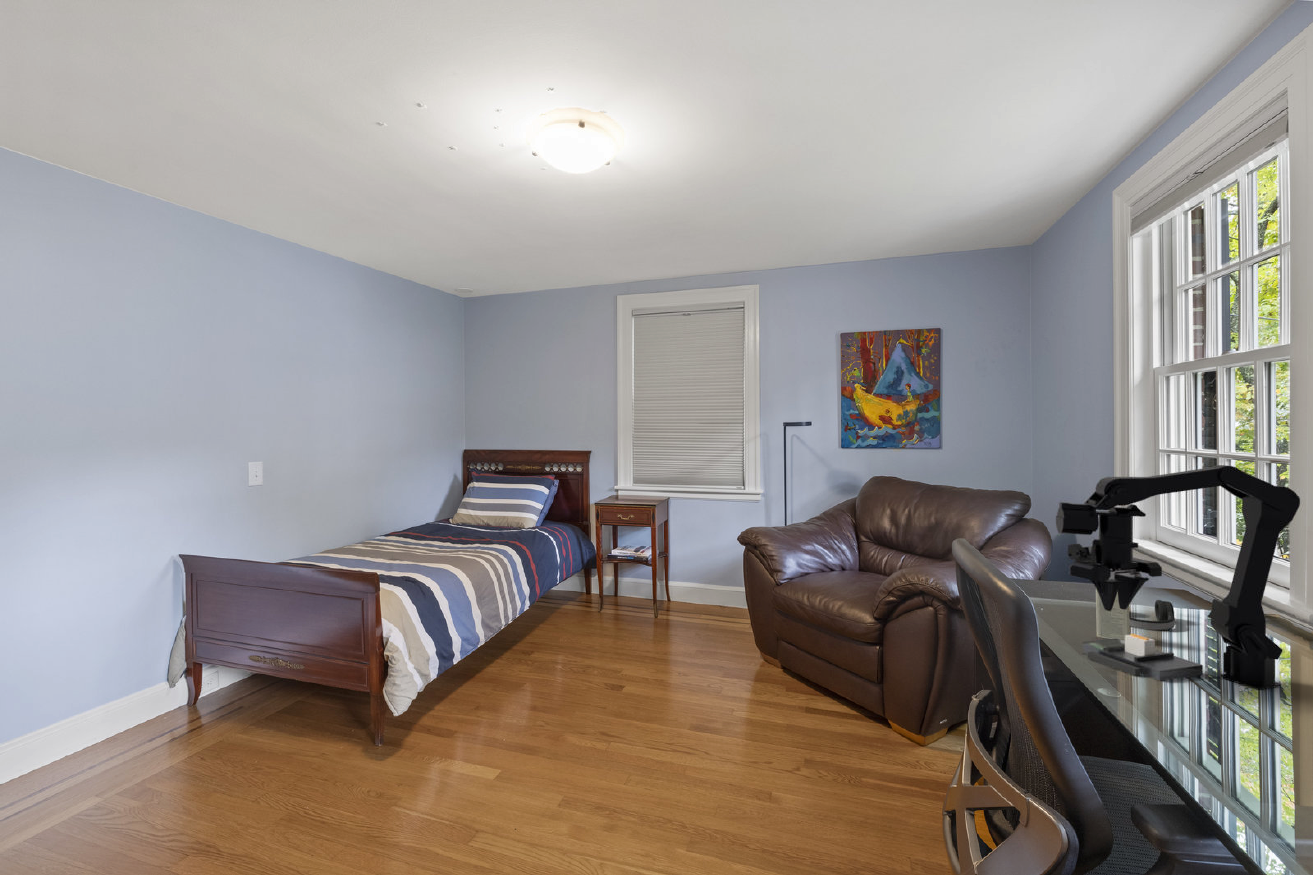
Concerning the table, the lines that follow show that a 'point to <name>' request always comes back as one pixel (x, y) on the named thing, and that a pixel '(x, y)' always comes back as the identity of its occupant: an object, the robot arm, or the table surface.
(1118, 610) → the skincare box
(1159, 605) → the headset
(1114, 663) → the dark grey bar
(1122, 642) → the panel
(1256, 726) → the table surface
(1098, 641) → the dark grey bar far
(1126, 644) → the breaker lever
